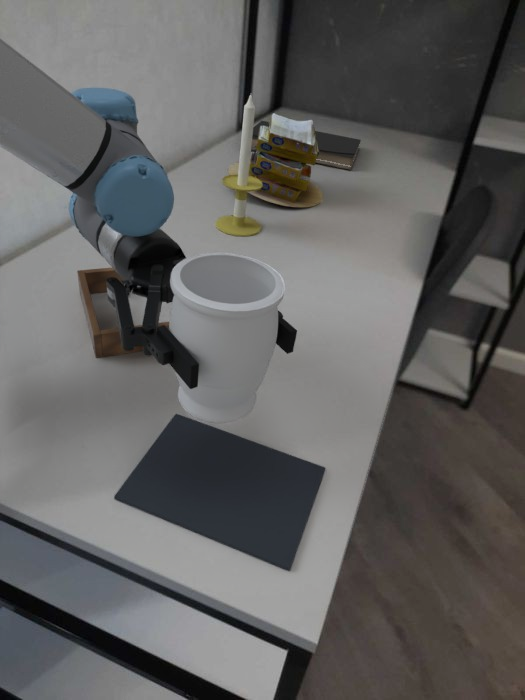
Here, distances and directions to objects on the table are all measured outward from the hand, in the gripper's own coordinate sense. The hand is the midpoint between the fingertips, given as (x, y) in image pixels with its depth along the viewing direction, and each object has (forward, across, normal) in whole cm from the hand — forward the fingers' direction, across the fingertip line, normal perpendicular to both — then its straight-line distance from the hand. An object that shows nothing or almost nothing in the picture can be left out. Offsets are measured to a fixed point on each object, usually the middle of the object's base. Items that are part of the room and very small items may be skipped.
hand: (246, 358), depth 49 cm
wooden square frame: (-34, -5, -18) cm, 39 cm away
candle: (-56, -38, -18) cm, 70 cm away
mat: (0, +1, -18) cm, 18 cm away
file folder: (-95, -89, -18) cm, 132 cm away
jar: (-4, 0, -9) cm, 10 cm away
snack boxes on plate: (-71, -59, -18) cm, 94 cm away
